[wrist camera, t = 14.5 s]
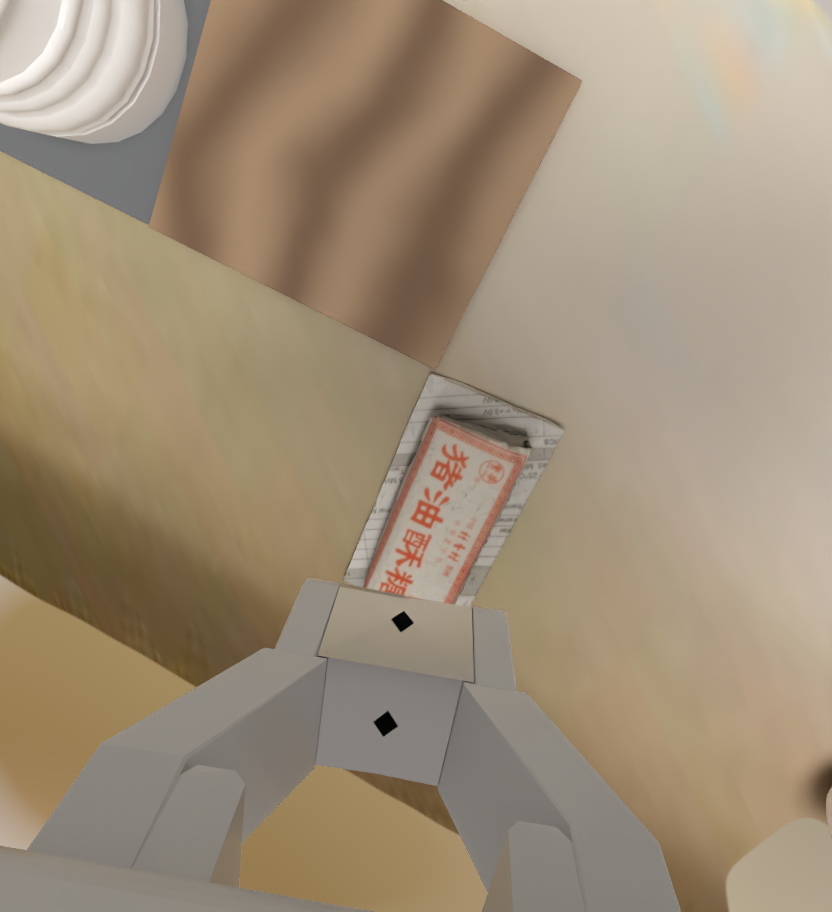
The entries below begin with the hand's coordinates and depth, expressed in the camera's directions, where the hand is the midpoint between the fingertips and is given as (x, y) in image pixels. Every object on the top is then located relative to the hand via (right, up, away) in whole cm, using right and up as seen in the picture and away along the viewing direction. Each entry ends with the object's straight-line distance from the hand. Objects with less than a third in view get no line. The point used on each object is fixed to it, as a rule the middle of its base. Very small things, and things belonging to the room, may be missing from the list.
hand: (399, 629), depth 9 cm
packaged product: (+3, -1, +35) cm, 35 cm away
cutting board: (-3, +20, +26) cm, 33 cm away
